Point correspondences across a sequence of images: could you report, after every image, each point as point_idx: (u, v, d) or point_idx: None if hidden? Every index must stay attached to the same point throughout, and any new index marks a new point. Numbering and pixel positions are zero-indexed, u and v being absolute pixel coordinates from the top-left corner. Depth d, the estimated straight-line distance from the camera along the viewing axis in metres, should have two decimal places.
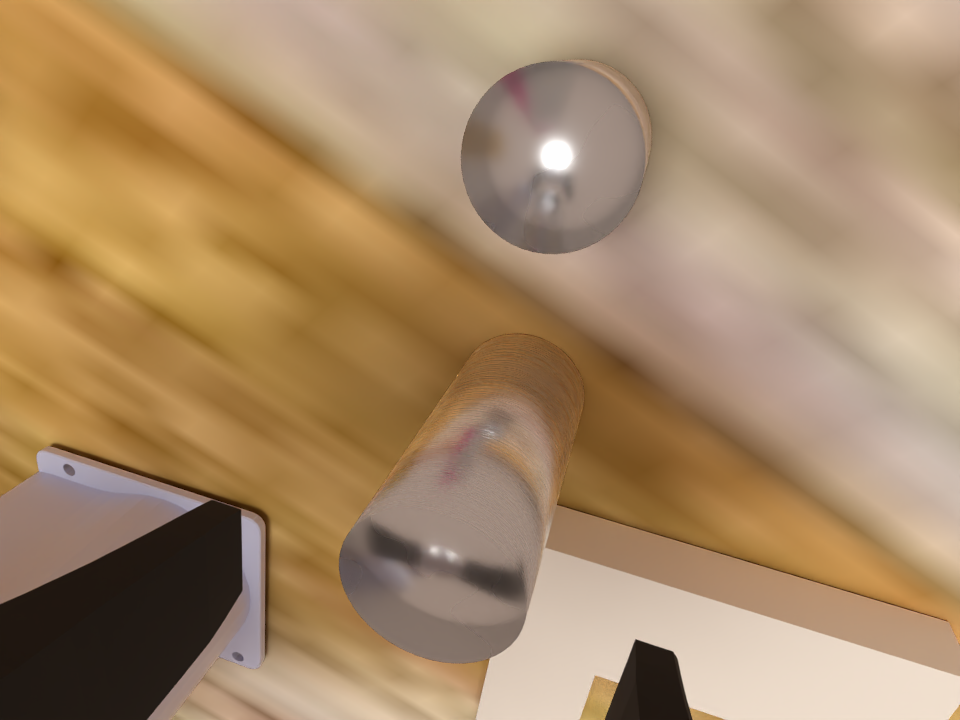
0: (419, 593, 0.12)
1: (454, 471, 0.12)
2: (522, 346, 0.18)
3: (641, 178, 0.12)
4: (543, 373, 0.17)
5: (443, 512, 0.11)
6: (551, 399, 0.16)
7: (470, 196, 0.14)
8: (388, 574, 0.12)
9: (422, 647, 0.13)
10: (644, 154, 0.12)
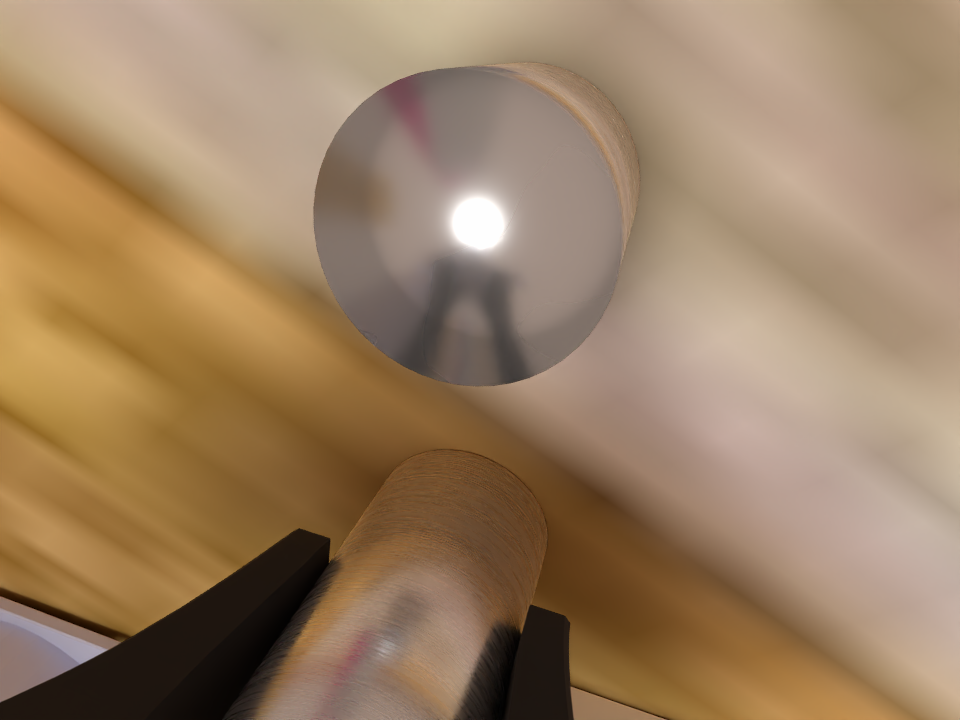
0: None
1: None
2: (454, 476, 0.12)
3: (615, 273, 0.07)
4: (480, 526, 0.11)
5: None
6: (489, 576, 0.11)
7: (334, 291, 0.08)
8: None
9: None
10: (620, 233, 0.07)
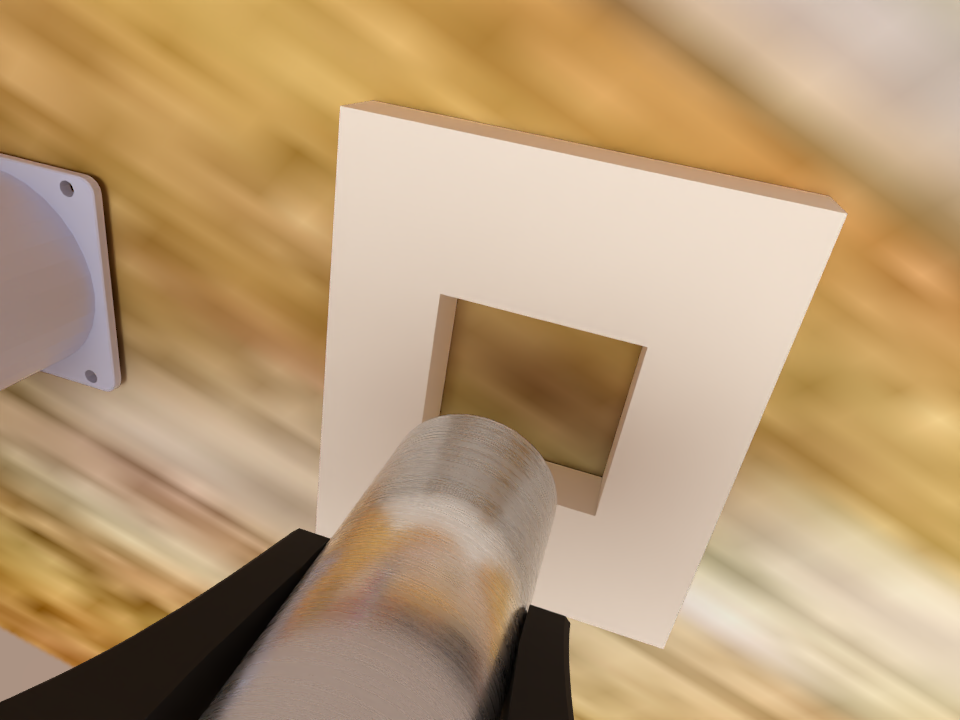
0: None
1: (287, 705, 0.07)
2: (453, 434, 0.12)
3: None
4: (479, 473, 0.12)
5: None
6: (489, 515, 0.11)
7: None
8: None
9: None
10: None
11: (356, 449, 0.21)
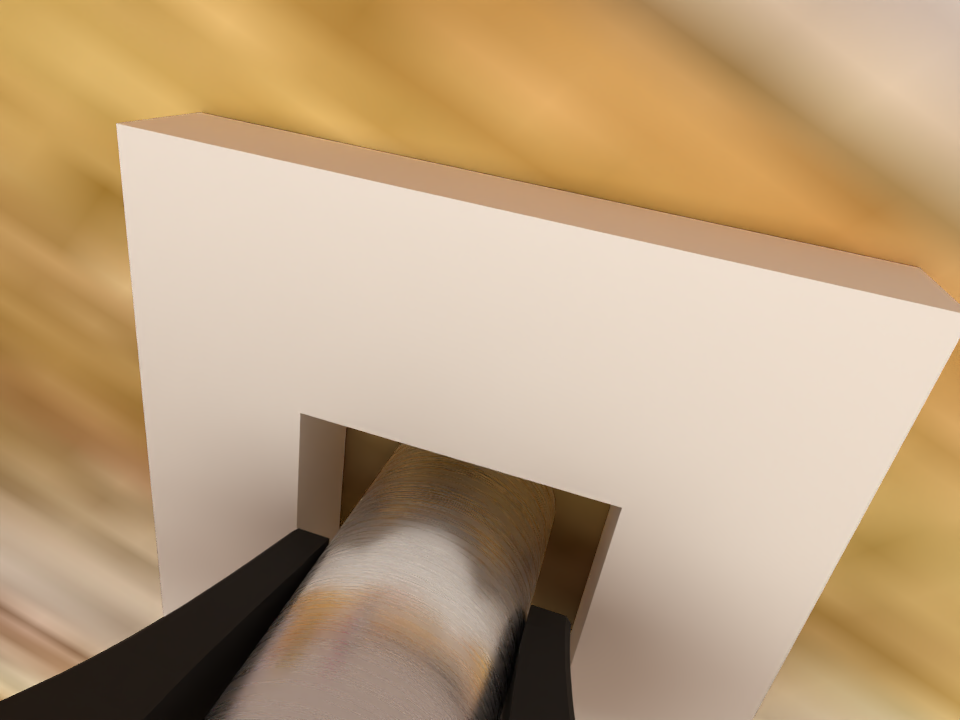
0: None
1: None
2: None
3: None
4: (475, 482, 0.11)
5: None
6: (485, 526, 0.11)
7: None
8: None
9: None
10: None
11: None
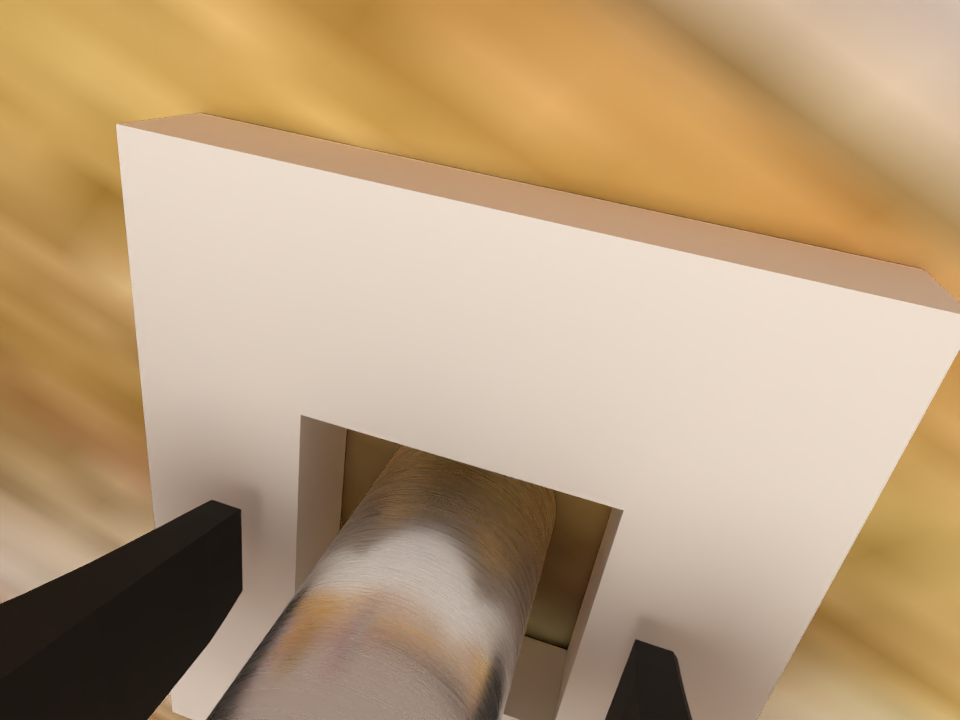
0: None
1: None
2: None
3: None
4: (476, 485, 0.11)
5: None
6: (486, 530, 0.11)
7: None
8: None
9: None
10: None
11: None
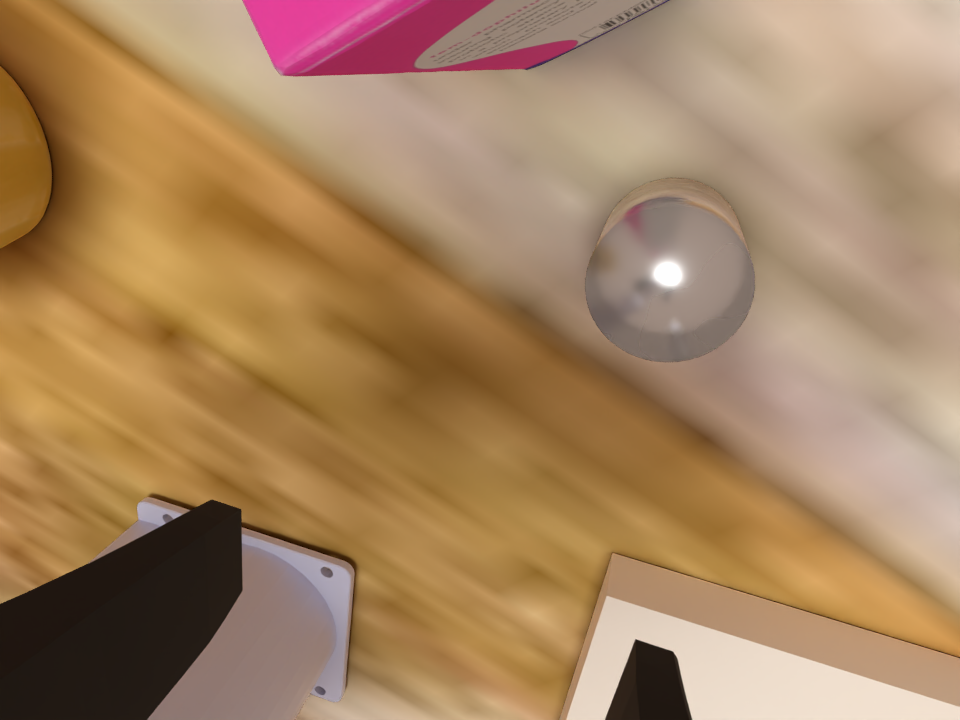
0: None
1: None
2: None
3: (750, 303, 0.14)
4: None
5: None
6: None
7: (591, 312, 0.15)
8: None
9: None
10: (754, 284, 0.14)
11: None
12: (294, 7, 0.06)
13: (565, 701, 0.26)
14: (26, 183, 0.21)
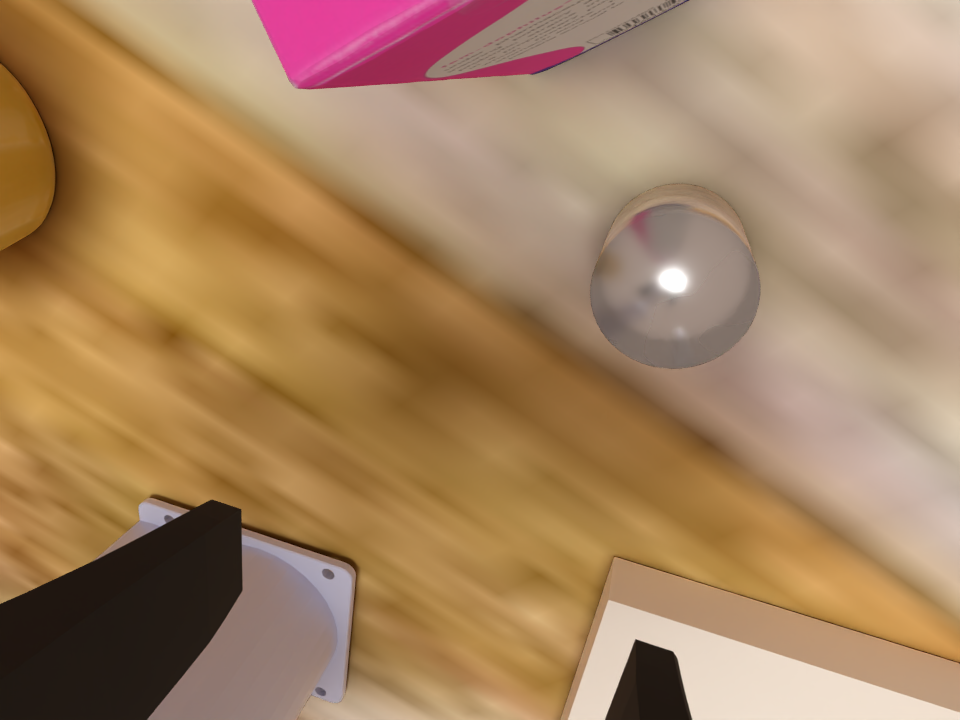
0: None
1: None
2: None
3: (755, 311, 0.14)
4: None
5: None
6: None
7: (596, 318, 0.15)
8: None
9: None
10: (759, 292, 0.14)
11: None
12: (310, 21, 0.06)
13: (565, 704, 0.26)
14: (30, 184, 0.21)
